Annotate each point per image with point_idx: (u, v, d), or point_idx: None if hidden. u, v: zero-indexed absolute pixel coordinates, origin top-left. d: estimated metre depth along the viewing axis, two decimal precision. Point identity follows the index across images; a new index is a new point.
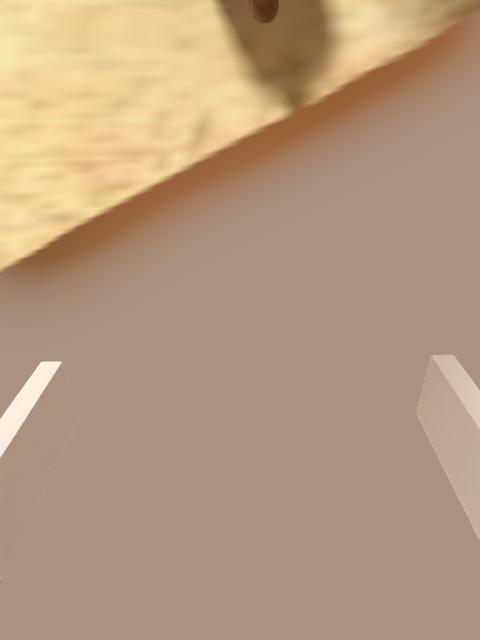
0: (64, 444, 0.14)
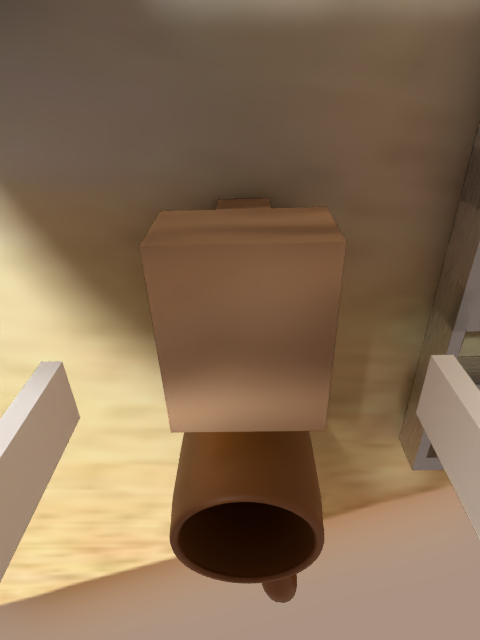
0: (64, 444, 0.14)
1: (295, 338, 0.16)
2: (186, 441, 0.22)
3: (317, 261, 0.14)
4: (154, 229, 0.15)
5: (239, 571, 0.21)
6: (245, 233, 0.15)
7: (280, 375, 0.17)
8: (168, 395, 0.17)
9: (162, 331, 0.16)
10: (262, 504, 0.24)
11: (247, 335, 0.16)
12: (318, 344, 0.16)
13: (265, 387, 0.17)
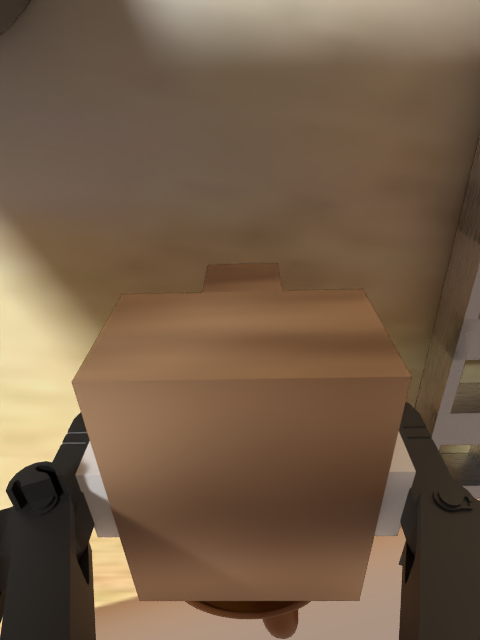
0: None
1: (321, 498, 0.10)
2: None
3: (361, 403, 0.09)
4: (105, 338, 0.10)
5: (239, 606, 0.21)
6: (245, 351, 0.09)
7: (296, 541, 0.11)
8: (133, 562, 0.12)
9: (118, 489, 0.10)
10: None
11: (248, 495, 0.10)
12: (356, 505, 0.10)
13: (275, 554, 0.12)
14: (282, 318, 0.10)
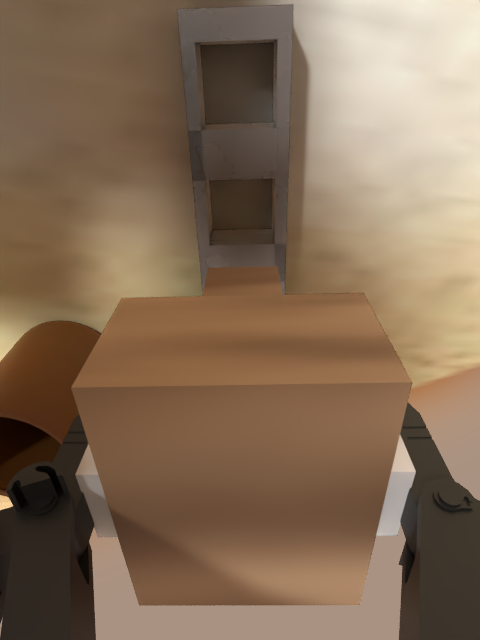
0: None
1: (322, 503, 0.10)
2: None
3: (362, 408, 0.09)
4: (105, 342, 0.10)
5: None
6: (245, 356, 0.09)
7: (296, 546, 0.11)
8: (133, 567, 0.12)
9: (118, 494, 0.10)
10: None
11: (248, 500, 0.10)
12: (356, 510, 0.10)
13: (275, 559, 0.12)
14: (282, 322, 0.10)
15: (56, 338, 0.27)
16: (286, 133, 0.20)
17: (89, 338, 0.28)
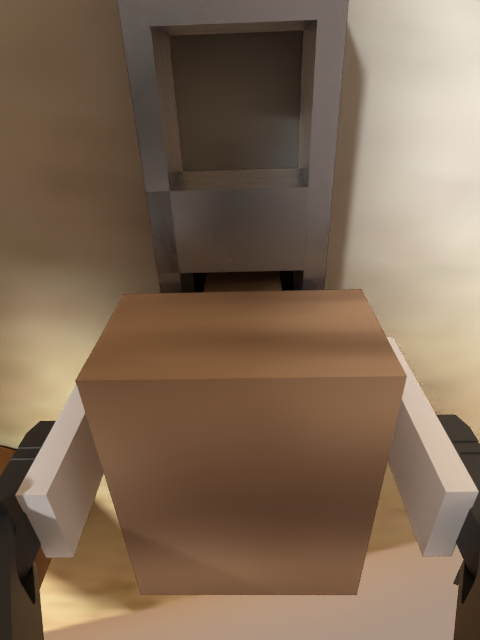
0: None
1: (319, 494, 0.11)
2: None
3: (358, 402, 0.09)
4: (108, 337, 0.10)
5: None
6: (244, 351, 0.09)
7: (295, 536, 0.12)
8: (135, 556, 0.12)
9: (120, 485, 0.11)
10: None
11: (248, 491, 0.11)
12: (353, 502, 0.11)
13: (274, 549, 0.12)
14: (281, 318, 0.11)
15: None
16: (326, 196, 0.11)
17: None
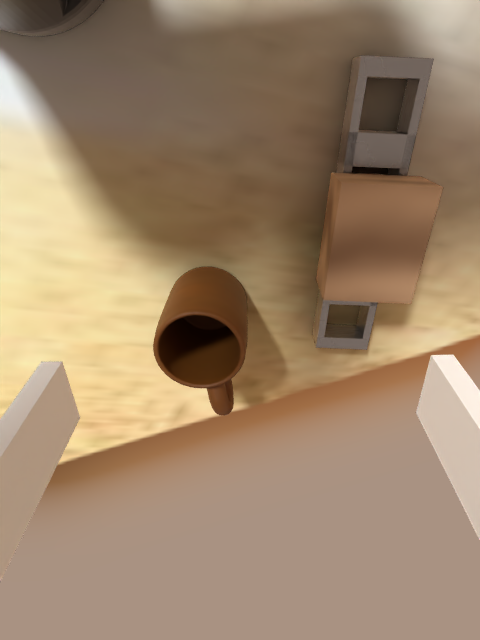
0: (64, 444, 0.14)
1: (407, 240, 0.30)
2: (167, 302, 0.35)
3: (427, 197, 0.28)
4: (339, 178, 0.29)
5: (194, 381, 0.34)
6: (389, 182, 0.29)
7: (394, 264, 0.31)
8: (329, 274, 0.31)
9: (338, 232, 0.30)
10: (213, 356, 0.37)
11: (382, 237, 0.30)
12: (418, 245, 0.30)
13: (384, 271, 0.31)
14: (396, 179, 0.30)
15: (215, 276, 0.36)
16: (413, 138, 0.30)
17: (234, 280, 0.38)
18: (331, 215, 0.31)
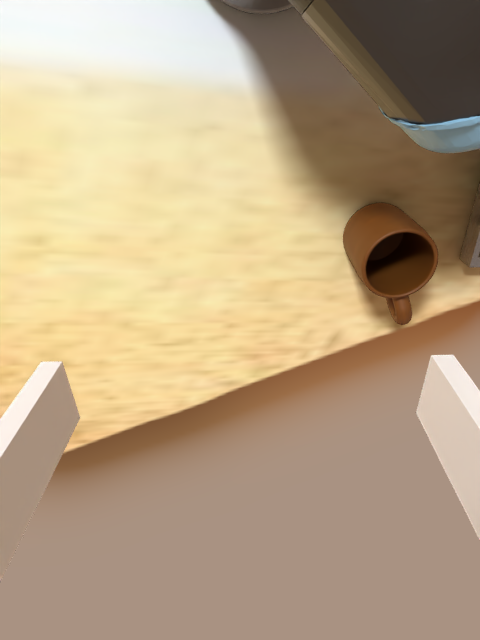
0: (64, 444, 0.14)
1: None
2: (358, 231, 0.43)
3: None
4: None
5: (388, 293, 0.42)
6: None
7: None
8: None
9: None
10: (390, 276, 0.45)
11: None
12: None
13: None
14: None
15: (393, 208, 0.43)
16: None
17: None
18: None
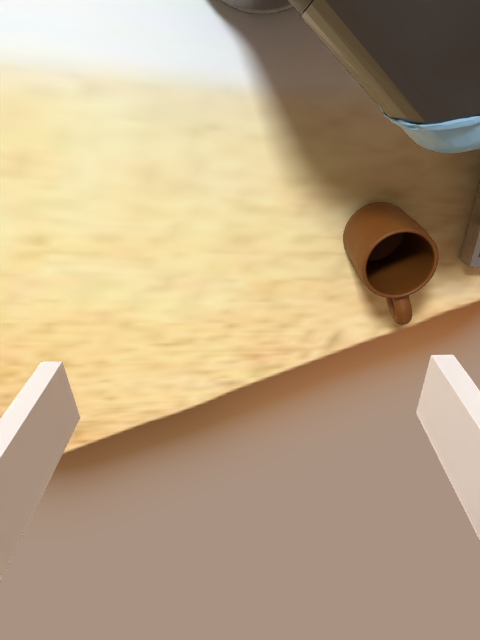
0: (64, 444, 0.14)
1: None
2: (358, 231, 0.43)
3: None
4: None
5: (388, 293, 0.42)
6: None
7: None
8: None
9: None
10: (390, 276, 0.45)
11: None
12: None
13: None
14: None
15: (393, 208, 0.43)
16: None
17: None
18: None
